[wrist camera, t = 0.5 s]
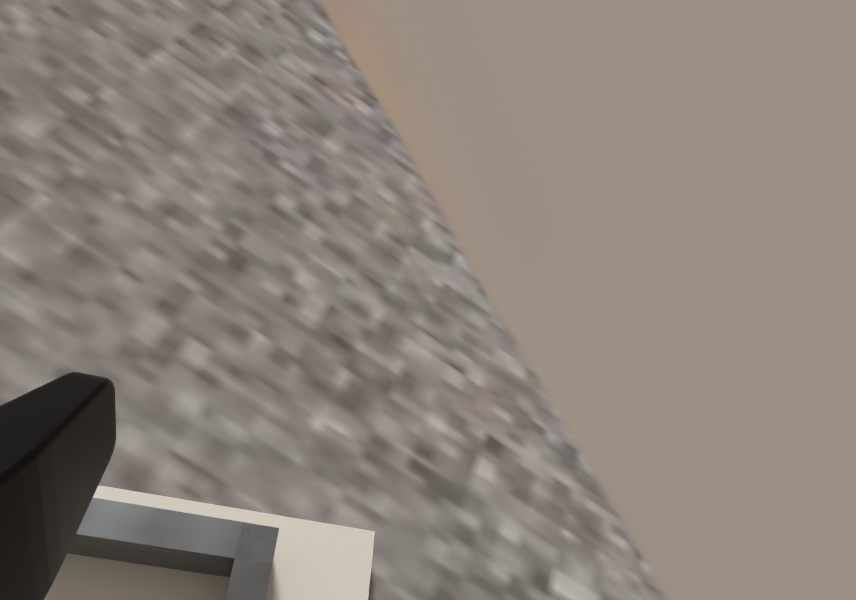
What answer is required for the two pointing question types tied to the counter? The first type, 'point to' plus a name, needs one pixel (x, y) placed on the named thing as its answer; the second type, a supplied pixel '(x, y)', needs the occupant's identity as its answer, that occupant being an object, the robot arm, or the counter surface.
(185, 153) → the counter surface
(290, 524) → the socket plate
